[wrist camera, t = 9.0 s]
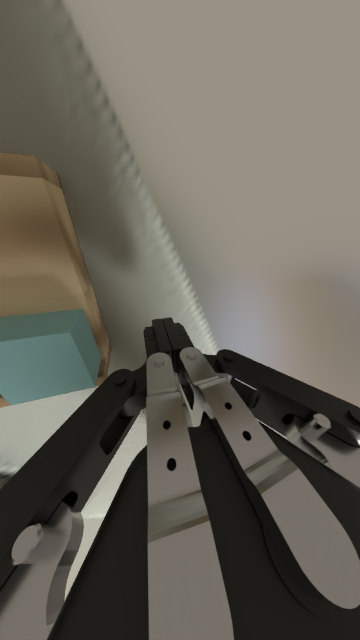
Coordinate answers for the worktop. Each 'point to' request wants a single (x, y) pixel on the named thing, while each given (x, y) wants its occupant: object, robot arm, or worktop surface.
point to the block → (46, 355)
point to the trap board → (42, 251)
